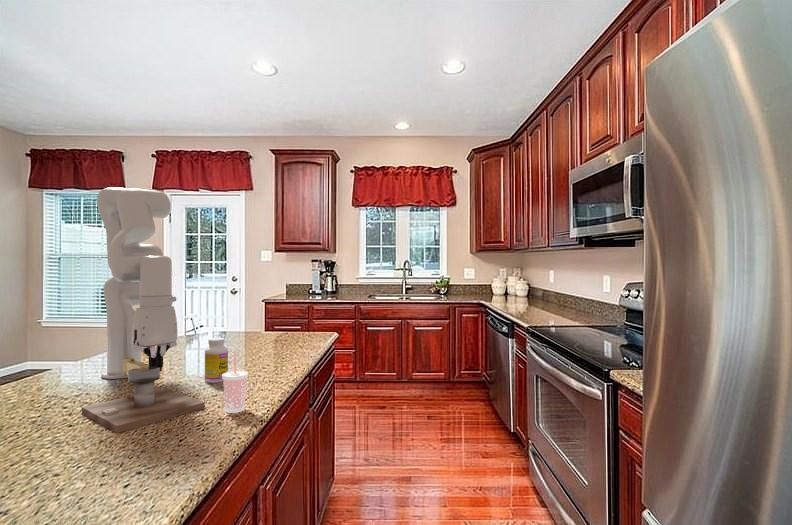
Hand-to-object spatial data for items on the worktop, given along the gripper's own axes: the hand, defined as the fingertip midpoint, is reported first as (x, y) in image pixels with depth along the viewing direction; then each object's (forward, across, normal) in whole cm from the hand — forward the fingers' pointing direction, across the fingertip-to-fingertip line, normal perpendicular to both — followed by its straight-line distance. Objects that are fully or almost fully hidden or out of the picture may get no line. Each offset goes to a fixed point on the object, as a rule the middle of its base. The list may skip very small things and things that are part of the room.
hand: (155, 371), depth 118 cm
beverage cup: (+8, -8, +24) cm, 26 cm away
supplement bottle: (+8, -20, -4) cm, 22 cm away
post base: (+8, +6, +6) cm, 12 cm away
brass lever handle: (0, +6, +3) cm, 7 cm away
